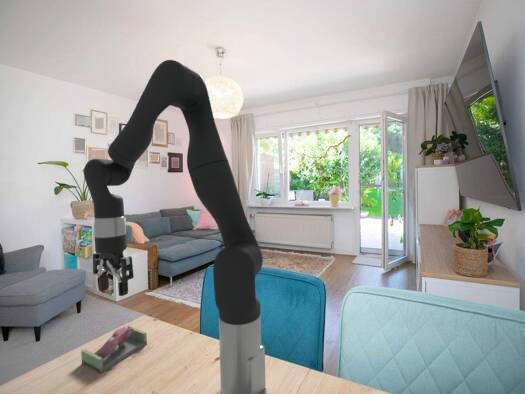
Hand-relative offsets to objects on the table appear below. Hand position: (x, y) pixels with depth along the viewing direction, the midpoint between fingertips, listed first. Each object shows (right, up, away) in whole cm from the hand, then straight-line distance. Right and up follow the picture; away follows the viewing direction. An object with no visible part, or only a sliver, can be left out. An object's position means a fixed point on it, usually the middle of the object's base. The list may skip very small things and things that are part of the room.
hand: (113, 292), depth 74 cm
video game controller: (0, -16, +1) cm, 16 cm away
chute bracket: (0, -17, +1) cm, 17 cm away
